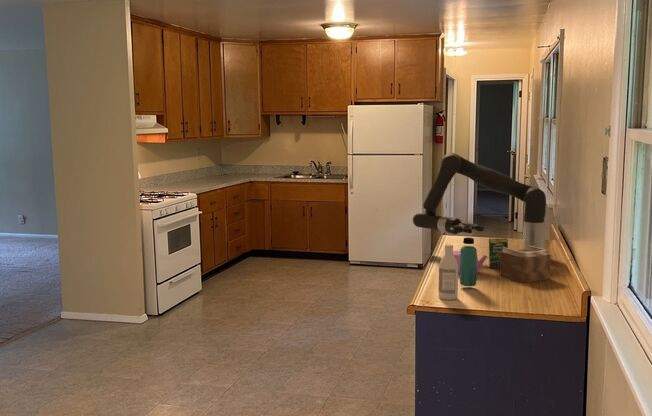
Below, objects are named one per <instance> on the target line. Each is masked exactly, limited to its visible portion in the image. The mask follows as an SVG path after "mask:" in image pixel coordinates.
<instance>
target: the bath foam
mask: <svg viewBox="0 0 652 416" xmlns="http://www.w3.org/2000/svg"><path fill="white" fill-rule="evenodd" d="M453 251H454V244H452V243H446V244H445V245H444V255H443V256H442V258H441V259H440V262H439V264H438V265H439V266H438V297H439V299H441V300H444V301H453V300H456V299H458V297H459V295H458V294H459V293H458V292H459V291H458V289H459V288H458V287H459V275H458V263H457V260H456V259H455V257H454V255H453Z"/></svg>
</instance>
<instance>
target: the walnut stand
mask: <svg viewBox="0 0 652 416" xmlns="http://www.w3.org/2000/svg"><path fill="white" fill-rule="evenodd" d="M551 257H552V256H551V255H550V254H548V249H546V248H545V249H542V248H538V247H534V246H530V245H525V249H523V248H522V249H513V248H509V247H508V248H506V247H503V250H502V252H501V258H500V268H499V276H502V277H503V278H504V277H505V278H508V279H510V280H514V281H517V282H519V283H522V284H523V283H530V282H537V281H543V280H545V281H546V280H550V276H551V275H550V273H551V272H550V271H551Z"/></svg>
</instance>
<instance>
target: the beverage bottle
mask: <svg viewBox="0 0 652 416" xmlns="http://www.w3.org/2000/svg"><path fill="white" fill-rule="evenodd" d="M462 243H463V244H464V245H463V246H462V247H460V250H459V251H461V253H460V275H459V285H460V286H464V287H475V286H477V282H478V281H477V275H476V273H477V272H476V271H477V270H476V269H477V267H476V266H477V260H476V258H477V257H478V254H477V253H478V252H477V250H478V249H477V248H476V247H475V246H474V244H475V239H474V237H467V236H466V237H463V241H462Z"/></svg>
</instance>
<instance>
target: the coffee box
mask: <svg viewBox="0 0 652 416" xmlns="http://www.w3.org/2000/svg"><path fill="white" fill-rule="evenodd" d="M508 241H509V240H508V238H489V239H488V268H489V269H500V258H501V252H502V250H503V247H506V248H509V246H508V245H509V242H508Z"/></svg>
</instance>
